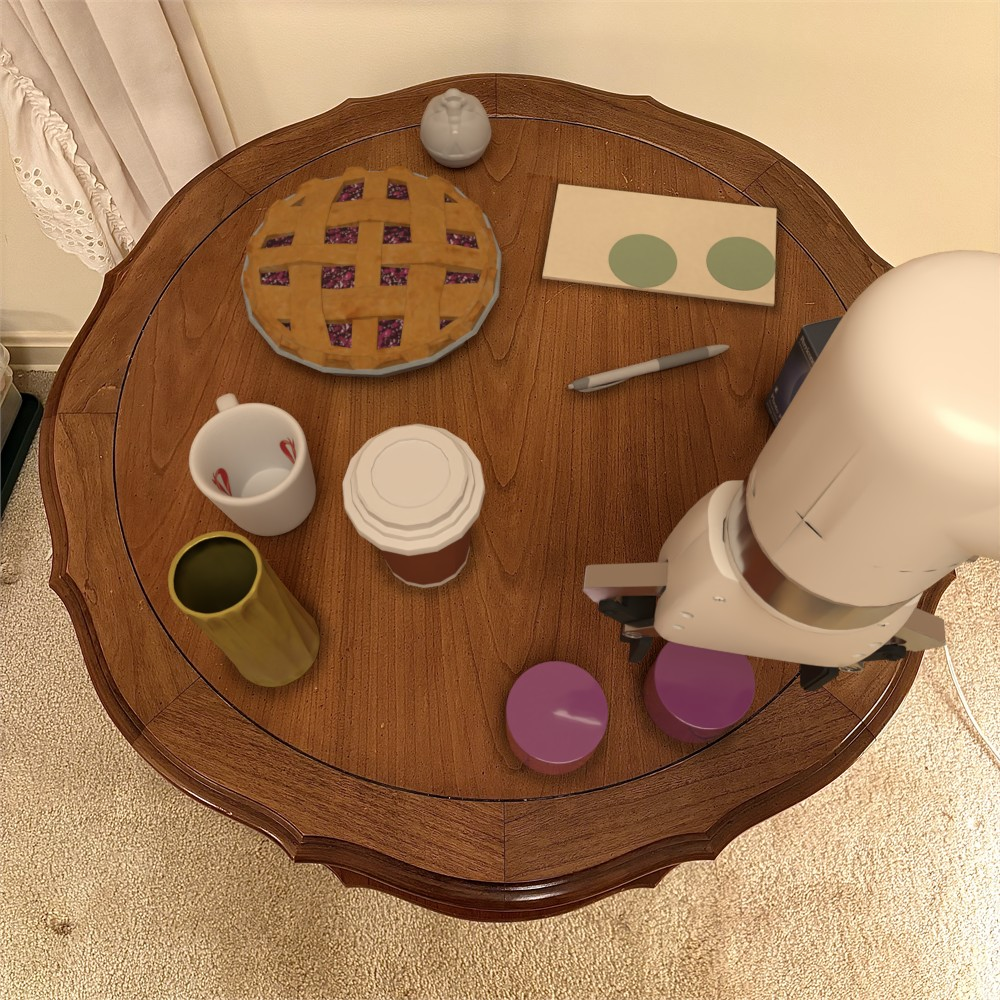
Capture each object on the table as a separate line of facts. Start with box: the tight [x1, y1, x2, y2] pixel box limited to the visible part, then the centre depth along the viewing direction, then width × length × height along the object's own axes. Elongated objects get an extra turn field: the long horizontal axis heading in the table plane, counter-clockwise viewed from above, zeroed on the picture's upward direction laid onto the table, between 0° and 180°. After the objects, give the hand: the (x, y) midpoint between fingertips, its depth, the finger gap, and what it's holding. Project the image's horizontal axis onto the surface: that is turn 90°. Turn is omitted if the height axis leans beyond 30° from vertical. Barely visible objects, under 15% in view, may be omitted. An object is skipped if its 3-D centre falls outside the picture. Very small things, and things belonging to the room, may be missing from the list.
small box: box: [763, 315, 844, 429], centre depth 62 cm, size 11×6×10 cm, turn 14°
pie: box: [240, 165, 503, 379], centre depth 71 cm, size 22×22×5 cm
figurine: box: [419, 87, 492, 169], centre depth 77 cm, size 6×7×8 cm
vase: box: [167, 530, 321, 688], centre depth 53 cm, size 6×6×14 cm
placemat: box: [541, 183, 778, 308], centre depth 75 cm, size 20×11×1 cm, turn 81°
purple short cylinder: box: [505, 660, 609, 776], centre depth 55 cm, size 6×6×5 cm
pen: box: [567, 343, 730, 393], centre depth 69 cm, size 1×14×1 cm, turn 107°
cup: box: [188, 392, 317, 537], centre depth 61 cm, size 11×8×8 cm
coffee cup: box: [341, 423, 486, 589], centre depth 57 cm, size 9×9×12 cm
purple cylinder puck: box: [642, 641, 756, 744], centre depth 56 cm, size 6×6×5 cm
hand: (720, 650), depth 48 cm, fingers open, 9 cm apart
